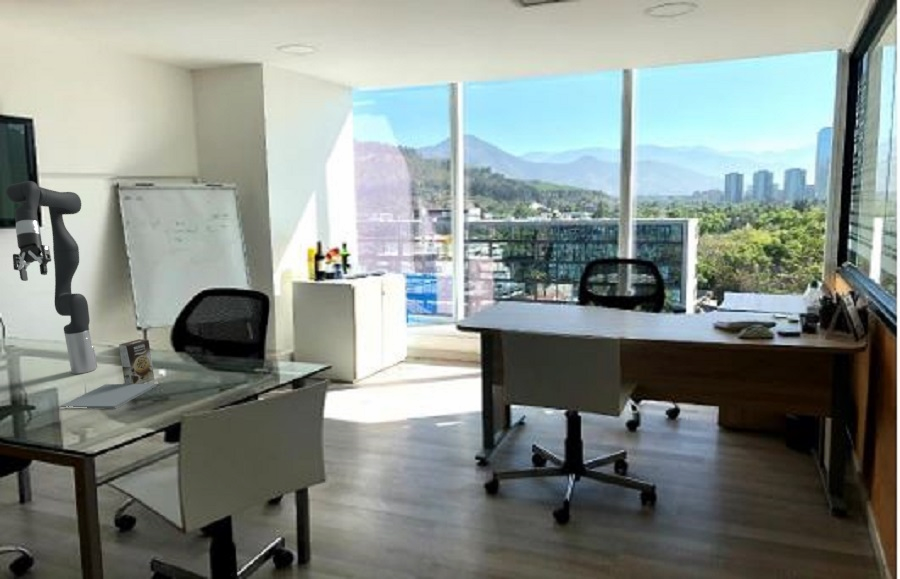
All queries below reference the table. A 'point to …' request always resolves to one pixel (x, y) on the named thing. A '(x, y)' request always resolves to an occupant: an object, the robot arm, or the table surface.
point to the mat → (110, 395)
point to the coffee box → (136, 362)
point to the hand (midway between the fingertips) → (34, 277)
